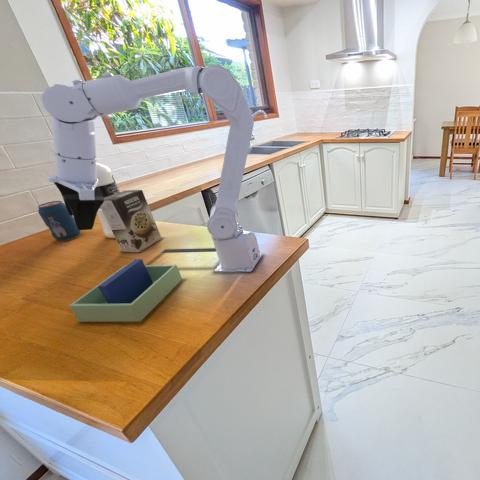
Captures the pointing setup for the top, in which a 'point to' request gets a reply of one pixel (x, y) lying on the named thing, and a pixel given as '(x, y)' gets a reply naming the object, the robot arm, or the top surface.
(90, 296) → the bin
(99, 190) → the vodka
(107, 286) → the blue flat block
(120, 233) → the coffee box
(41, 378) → the top surface
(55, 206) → the soda can
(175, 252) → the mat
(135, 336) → the top surface
